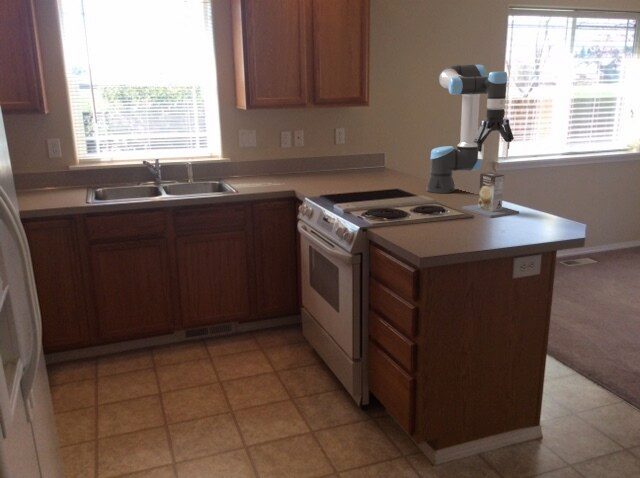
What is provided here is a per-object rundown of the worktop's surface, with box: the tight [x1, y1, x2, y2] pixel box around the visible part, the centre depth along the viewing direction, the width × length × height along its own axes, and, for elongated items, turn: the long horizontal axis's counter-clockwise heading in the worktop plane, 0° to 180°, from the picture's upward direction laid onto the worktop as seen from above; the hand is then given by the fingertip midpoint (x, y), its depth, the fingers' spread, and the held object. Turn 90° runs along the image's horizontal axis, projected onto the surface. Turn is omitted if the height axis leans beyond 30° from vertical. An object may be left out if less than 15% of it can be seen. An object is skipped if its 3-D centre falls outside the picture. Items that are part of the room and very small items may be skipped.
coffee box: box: [477, 171, 505, 211], centre depth 253 cm, size 9×6×16 cm
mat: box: [461, 203, 520, 219], centre depth 256 cm, size 20×16×1 cm
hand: (492, 157), depth 249 cm, fingers open, 13 cm apart
